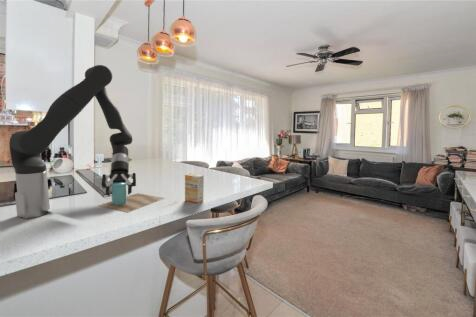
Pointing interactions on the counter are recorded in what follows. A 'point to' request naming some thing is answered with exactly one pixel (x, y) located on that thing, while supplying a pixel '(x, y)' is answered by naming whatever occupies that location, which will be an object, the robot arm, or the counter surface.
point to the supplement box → (194, 187)
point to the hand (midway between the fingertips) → (118, 194)
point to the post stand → (133, 202)
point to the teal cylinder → (118, 193)
